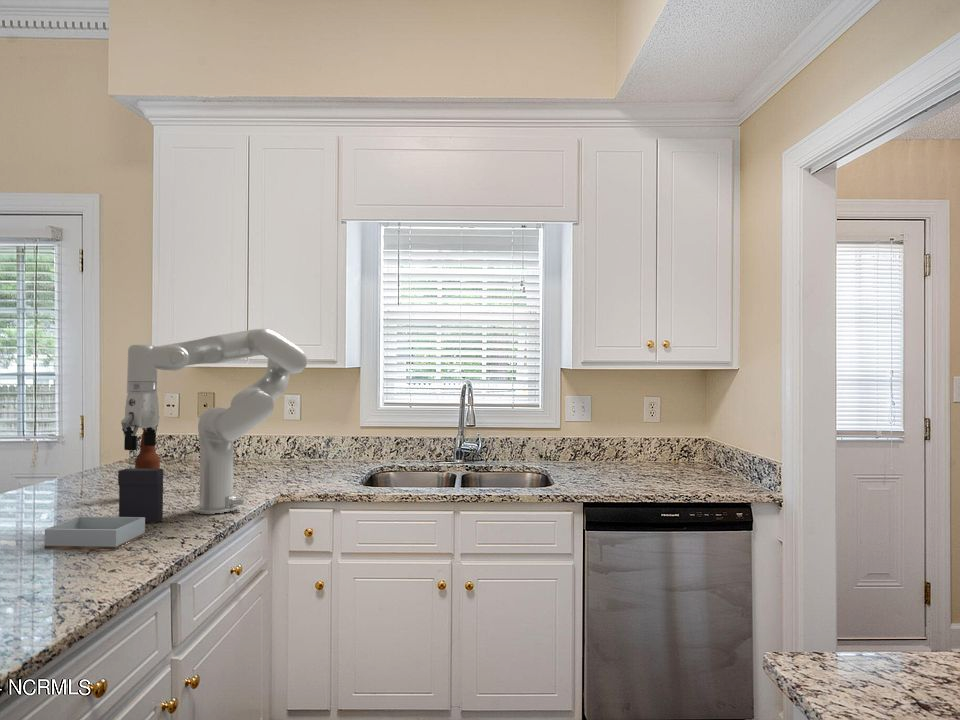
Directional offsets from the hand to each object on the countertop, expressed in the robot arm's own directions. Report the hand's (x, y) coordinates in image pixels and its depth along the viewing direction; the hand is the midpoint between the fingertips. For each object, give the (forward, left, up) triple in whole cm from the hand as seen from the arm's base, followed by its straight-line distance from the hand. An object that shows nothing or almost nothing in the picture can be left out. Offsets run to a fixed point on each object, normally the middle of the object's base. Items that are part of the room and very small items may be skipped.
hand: (140, 447), depth 177 cm
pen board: (0, +20, -21) cm, 29 cm away
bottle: (+15, -30, -21) cm, 40 cm away
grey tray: (0, +20, -21) cm, 29 cm away
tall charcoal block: (0, 0, -21) cm, 21 cm away
